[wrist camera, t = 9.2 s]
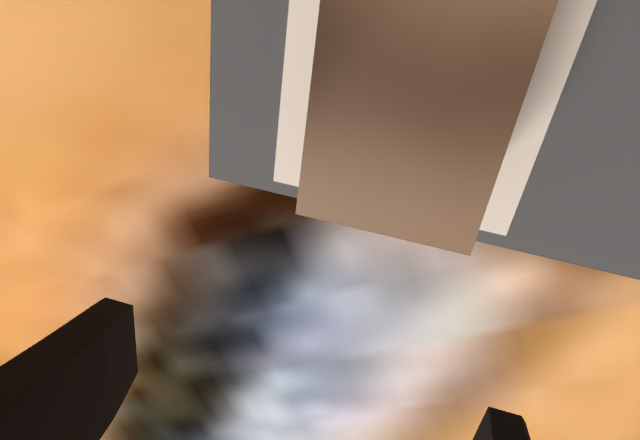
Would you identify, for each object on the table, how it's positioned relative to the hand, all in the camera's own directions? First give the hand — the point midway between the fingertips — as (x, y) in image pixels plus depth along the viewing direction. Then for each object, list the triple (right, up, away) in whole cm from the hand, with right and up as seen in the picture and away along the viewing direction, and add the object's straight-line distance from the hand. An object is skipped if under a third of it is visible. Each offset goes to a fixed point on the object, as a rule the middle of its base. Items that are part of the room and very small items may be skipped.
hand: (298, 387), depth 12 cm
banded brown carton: (+3, +8, +4) cm, 9 cm away
